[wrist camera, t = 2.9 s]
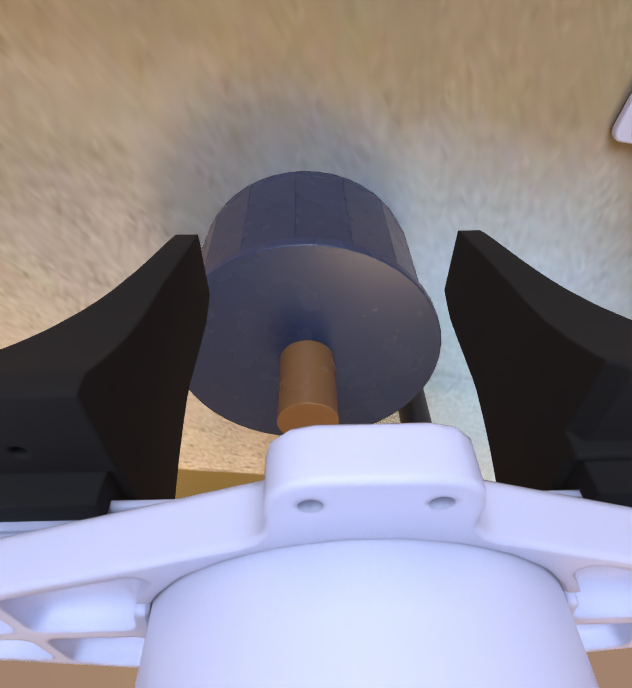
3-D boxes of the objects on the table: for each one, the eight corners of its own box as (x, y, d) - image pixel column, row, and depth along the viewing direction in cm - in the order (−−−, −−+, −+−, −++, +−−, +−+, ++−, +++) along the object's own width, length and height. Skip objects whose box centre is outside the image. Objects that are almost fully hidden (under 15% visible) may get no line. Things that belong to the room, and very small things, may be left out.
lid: (474, 244, 18) (513, 321, 15) (399, 426, 26) (413, 502, 23) (164, 212, 17) (131, 289, 14) (184, 413, 25) (166, 492, 22)
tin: (430, 184, 23) (465, 261, 18) (381, 346, 30) (395, 430, 25) (200, 157, 21) (173, 232, 17) (207, 333, 29) (189, 418, 24)
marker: (423, 361, 31) (450, 466, 25) (415, 381, 32) (439, 485, 27) (394, 359, 31) (414, 464, 25) (387, 379, 32) (405, 483, 27)
